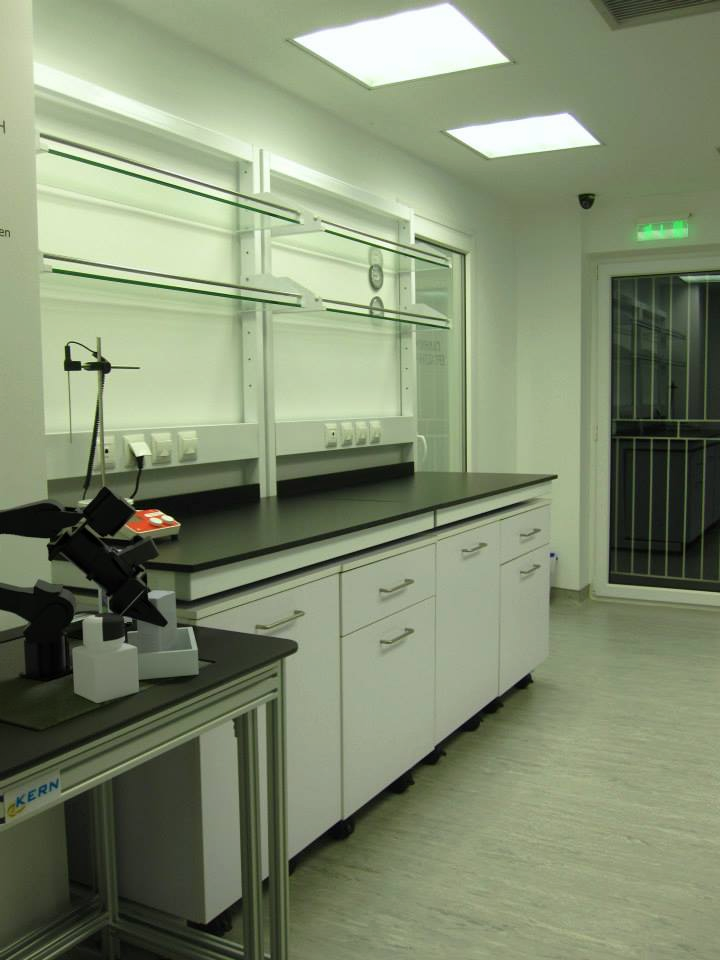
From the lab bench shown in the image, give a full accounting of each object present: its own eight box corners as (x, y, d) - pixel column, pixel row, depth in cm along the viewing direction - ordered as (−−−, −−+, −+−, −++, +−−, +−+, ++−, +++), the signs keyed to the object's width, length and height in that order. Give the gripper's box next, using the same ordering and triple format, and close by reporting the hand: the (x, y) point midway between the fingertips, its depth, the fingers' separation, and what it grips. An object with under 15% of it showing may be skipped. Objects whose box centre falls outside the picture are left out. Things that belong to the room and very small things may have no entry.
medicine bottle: (115, 682, 141) (112, 607, 140) (139, 692, 136) (136, 614, 135) (73, 693, 136) (69, 615, 135) (96, 704, 131) (92, 623, 130)
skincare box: (156, 658, 154) (154, 589, 153) (179, 660, 153) (176, 590, 152) (137, 668, 149) (134, 597, 147) (160, 670, 147) (157, 598, 146)
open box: (127, 680, 142) (126, 655, 142) (128, 654, 157) (127, 631, 157) (198, 674, 145) (197, 650, 144) (192, 648, 160) (192, 626, 159)
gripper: (127, 529, 139) (202, 594, 142) (128, 514, 157) (195, 573, 160) (76, 582, 137) (153, 647, 141) (83, 562, 156) (151, 620, 159)
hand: (165, 619), depth 150 cm, fingers open, 8 cm apart
